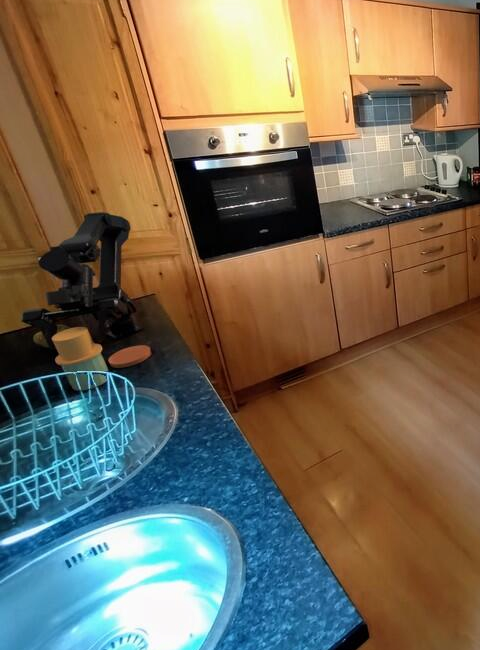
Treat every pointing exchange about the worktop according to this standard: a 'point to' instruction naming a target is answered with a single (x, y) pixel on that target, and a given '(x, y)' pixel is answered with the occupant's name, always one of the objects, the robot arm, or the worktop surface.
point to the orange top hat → (75, 346)
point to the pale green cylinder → (89, 365)
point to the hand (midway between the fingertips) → (76, 345)
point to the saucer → (129, 356)
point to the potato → (41, 340)
